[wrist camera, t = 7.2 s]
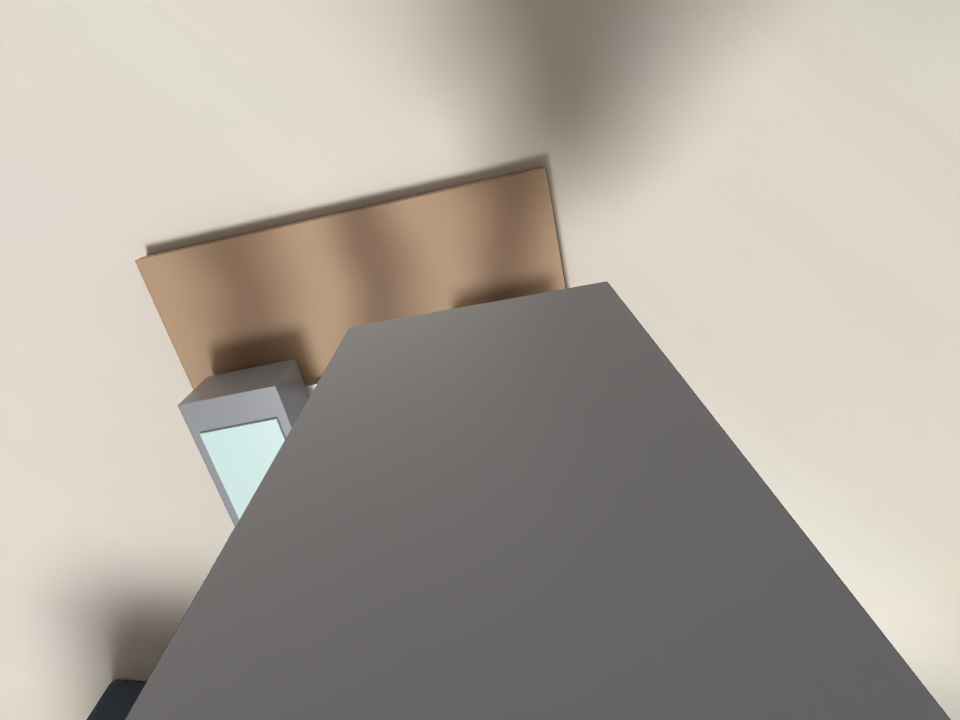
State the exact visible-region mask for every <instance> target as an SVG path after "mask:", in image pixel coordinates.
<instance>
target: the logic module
mask: <svg viewBox="0 0 960 720" xmlns="http://www.w3.org/2000/svg"><path fill="white" fill-rule="evenodd" d="M125 720H951V719H950V718H949V717H948V716H947V714H946V713H945V712H944V710H943V709H942V708H941V707H940V705H939V704H938V703H937V701H936V700H935V699H934V698H933V696H932V695H931V694H930V693H929V691H928V690H927V689H926V687H925V686H924V685H923V684H922V682H921V681H920V680H919V679H918V677H917V676H916V675H915V673H914V672H913V671H912V670H911V668H910V667H909V666H908V664H907V663H906V662H905V661H904V659H903V658H902V657H901V656H900V654H899V653H898V652H897V650H896V649H895V648H894V647H893V645H892V644H891V643H890V642H889V640H888V639H887V638H886V636H885V635H884V634H883V633H882V631H881V630H880V629H879V628H878V626H877V625H876V624H875V622H874V621H873V620H872V619H871V617H870V616H869V615H868V613H867V612H866V611H865V610H864V608H863V607H862V606H861V605H860V603H859V602H858V601H857V599H856V598H855V597H854V596H853V594H852V593H851V592H850V591H849V589H848V588H847V587H846V585H845V584H844V583H843V582H842V580H841V579H840V578H839V576H838V575H837V574H836V573H835V571H834V570H833V569H832V568H831V566H830V565H829V564H828V562H827V561H826V560H825V559H824V557H823V556H822V555H821V554H820V552H819V551H818V550H817V548H816V547H815V546H814V545H813V543H812V542H811V541H810V539H809V538H808V537H807V536H806V534H805V533H804V532H803V531H802V529H801V528H800V527H799V525H798V524H797V523H796V522H795V520H794V519H793V518H792V517H791V515H790V514H789V513H788V511H787V510H786V509H785V508H784V506H783V505H782V504H781V502H780V501H779V500H778V499H777V497H776V496H775V495H774V494H773V492H772V491H771V490H770V488H769V487H768V486H767V485H766V483H765V482H764V481H763V480H762V478H761V477H760V476H759V474H758V473H757V472H756V471H755V469H754V468H753V467H752V465H751V464H750V463H749V462H748V460H747V459H746V458H745V457H744V455H743V454H742V453H741V451H740V450H739V449H738V448H737V446H736V445H735V444H734V443H733V441H732V440H731V439H730V437H729V436H728V435H727V434H726V432H725V431H724V430H723V428H722V427H721V426H720V425H719V423H718V422H717V421H716V420H715V418H714V417H713V416H712V414H711V413H710V412H709V411H708V409H707V408H706V407H705V406H704V404H703V403H702V402H701V400H700V399H699V398H698V397H697V395H696V394H695V393H694V392H693V390H692V389H691V388H690V386H689V385H688V384H687V383H686V381H685V380H684V379H683V377H682V376H681V375H680V374H679V372H678V371H677V370H676V369H675V367H674V366H673V365H672V363H671V362H670V361H669V360H668V358H667V357H666V356H665V355H664V353H663V352H662V351H661V349H660V348H659V347H658V346H657V344H656V343H655V342H654V340H653V339H652V338H651V337H650V335H649V334H648V333H647V332H646V330H645V329H644V328H643V326H642V325H641V324H640V323H639V321H638V320H637V319H636V318H635V316H634V315H633V314H632V312H631V311H630V310H629V309H628V307H627V306H626V305H625V303H624V302H623V301H622V300H621V298H620V297H619V296H618V295H617V293H616V292H615V291H614V289H613V288H612V287H611V286H610V284H609V283H608V282H601V283H596V284H590V285H584V286H579V287H573V288H568V289H562V290H556V291H551V292H545V293H539V294H534V295H528V296H522V297H517V298H511V299H505V300H500V301H494V302H489V303H483V304H477V305H472V306H466V307H460V308H455V309H449V310H443V311H438V312H432V313H427V314H421V315H415V316H410V317H404V318H398V319H393V320H387V321H381V322H376V323H370V324H364V325H359V326H353V327H349V329H348V331H347V332H346V334H345V336H344V338H343V339H342V341H341V343H340V345H339V346H338V348H337V350H336V352H335V353H334V355H333V357H332V359H331V360H330V362H329V364H328V366H327V367H326V369H325V371H324V373H323V374H322V376H321V378H320V380H319V381H318V383H317V385H316V387H315V388H314V390H313V392H312V394H311V395H310V397H309V399H308V401H307V402H306V404H305V406H304V408H303V409H302V411H301V413H300V415H299V416H298V418H297V420H296V422H295V423H294V425H293V427H292V429H291V430H290V432H289V434H288V436H287V437H286V439H285V441H284V443H283V444H282V446H281V448H280V450H279V451H278V453H277V455H276V457H275V458H274V460H273V462H272V464H271V465H270V467H269V469H268V471H267V472H266V474H265V476H264V478H263V479H262V481H261V483H260V485H259V486H258V488H257V490H256V492H255V493H254V495H253V497H252V499H251V500H250V502H249V504H248V506H247V507H246V509H245V511H244V513H243V514H242V516H241V518H240V520H239V521H238V523H237V525H236V527H235V528H234V530H233V532H232V534H231V535H230V537H229V539H228V541H227V542H226V544H225V546H224V548H223V549H222V551H221V553H220V555H219V556H218V558H217V560H216V562H215V563H214V565H213V567H212V569H211V570H210V572H209V574H208V576H207V577H206V579H205V581H204V583H203V584H202V586H201V588H200V590H199V591H198V593H197V595H196V597H195V598H194V600H193V602H192V604H191V605H190V607H189V609H188V611H187V612H186V614H185V616H184V618H183V619H182V621H181V623H180V625H179V626H178V628H177V630H176V632H175V633H174V635H173V637H172V639H171V640H170V642H169V644H168V646H167V647H166V649H165V651H164V653H163V654H162V656H161V658H160V660H159V661H158V663H157V665H156V667H155V668H154V670H153V672H152V674H151V675H150V677H149V679H148V681H147V682H146V684H145V686H144V688H143V689H142V691H141V693H140V695H139V696H138V698H137V700H136V702H135V703H134V705H133V707H132V709H131V710H130V712H129V714H128V716H127V717H126V719H125Z"/></svg>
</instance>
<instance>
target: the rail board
mask: <svg viewBox="0 0 960 720" xmlns="http://www.w3.org/2000/svg"><path fill="white" fill-rule="evenodd" d="M135 262H136V264H137V266H138V269H139V271H140V273H141V275H142V277H143V280H144V282H145V284H146V286H147V288H148V291H149V293H150V295H151V297H152V299H153V302H154V304H155V306H156V308H157V311H158V313H159V315H160V317H161V319H162V322H163V324H164V326H165V328H166V330H167V333H168V335H169V337H170V339H171V341H172V344H173V346H174V348H175V350H176V352H177V355H178V357H179V359H180V361H181V364H182V366H183V368H184V370H185V372H186V375H187V377H188V379H189V381H190V383H191V386H192V388H193V391H192V392H191V393H190V394H189V395H188V396H187V397H186V398H185V399H184V400H183V401H182V402H181V403H180V404H179V405H178V407H179V409H180V411H181V413H182V415H183V417H184V420H185V422H186V424H187V426H188V428H189V430H190V432H191V434H192V437H193V439H194V441H195V443H196V445H197V447H198V449H199V451H200V454H201V456H202V458H203V460H204V462H205V464H206V466H207V468H208V471H209V473H210V475H211V477H212V479H213V481H214V483H215V485H216V488H217V490H218V492H219V494H220V496H221V498H222V500H223V502H224V505H225V507H226V509H227V511H228V513H229V515H230V517H231V519H232V522H233V524H234V526H235V527H236V525H237V523H238V521H239V520H240V518H241V516H242V514H243V513H244V511H245V509H246V507H247V506H248V504H249V502H250V500H251V499H252V497H253V495H254V493H255V492H256V490H257V488H258V486H259V485H260V483H261V481H262V479H263V478H264V476H265V474H266V472H267V471H268V469H269V467H270V465H271V464H272V462H273V460H274V458H275V457H276V455H277V453H278V451H279V450H280V448H281V446H282V444H283V443H284V441H285V439H286V437H287V436H288V434H289V432H290V430H291V429H292V427H293V425H294V423H295V422H296V420H297V418H298V416H299V415H300V413H301V411H302V409H303V408H304V406H305V404H306V402H307V401H308V399H309V397H310V395H311V394H312V392H313V390H314V388H315V387H316V385H317V383H318V381H319V380H320V378H321V376H322V374H323V373H324V371H325V369H326V367H327V366H328V364H329V362H330V360H331V359H332V357H333V355H334V353H335V352H336V350H337V348H338V346H339V345H340V343H341V341H342V339H343V338H344V336H345V334H346V332H347V331H348V329H349V327H353V326H359V325H364V324H370V323H376V322H381V321H387V320H393V319H398V318H404V317H410V316H415V315H421V314H427V313H432V312H438V311H443V310H449V309H455V308H460V307H466V306H472V305H477V304H483V303H489V302H494V301H500V300H505V299H511V298H517V297H522V296H528V295H534V294H539V293H545V292H551V291H556V290H562V289H565V283H564V276H563V270H562V264H561V258H560V252H559V246H558V240H557V234H556V228H555V221H554V215H553V209H552V203H551V197H550V191H549V185H548V179H547V173H546V168H545V167H539V168H535V169H530V170H526V171H522V172H517V173H513V174H508V175H504V176H499V177H495V178H490V179H486V180H481V181H477V182H473V183H468V184H464V185H459V186H455V187H450V188H446V189H441V190H437V191H432V192H428V193H424V194H419V195H415V196H410V197H406V198H401V199H397V200H392V201H388V202H383V203H379V204H375V205H370V206H366V207H361V208H357V209H352V210H348V211H343V212H339V213H334V214H330V215H326V216H321V217H317V218H312V219H308V220H303V221H299V222H294V223H290V224H285V225H281V226H276V227H272V228H268V229H263V230H259V231H254V232H250V233H245V234H241V235H236V236H232V237H227V238H223V239H219V240H214V241H210V242H205V243H201V244H196V245H192V246H187V247H183V248H178V249H174V250H170V251H165V252H161V253H156V254H152V255H147V256H145V257H142V258H140V259H138V260H135Z"/></svg>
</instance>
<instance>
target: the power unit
mask: <svg viewBox="0 0 960 720" xmlns="http://www.w3.org/2000/svg"><path fill="white" fill-rule="evenodd" d="M145 684H146V682H135V681H124V680H116V681H113V682H112V683H111V684H109V686H108V688H107V689H106V691H105V692H104V694H103V695H102V697H101V698H100V700H99V702H98V703H97V705H96V706H95V708H94V709H93V711H92V712H91V714H90V715H89V717H88V719H87V720H125V719H126V717H127V716H128V714H129V712H130V710H131V709H132V707H133V705H134V703H135V702H136V700H137V698H138V696H139V695H140V693H141V691H142V689H143V688H144V686H145Z"/></svg>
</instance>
